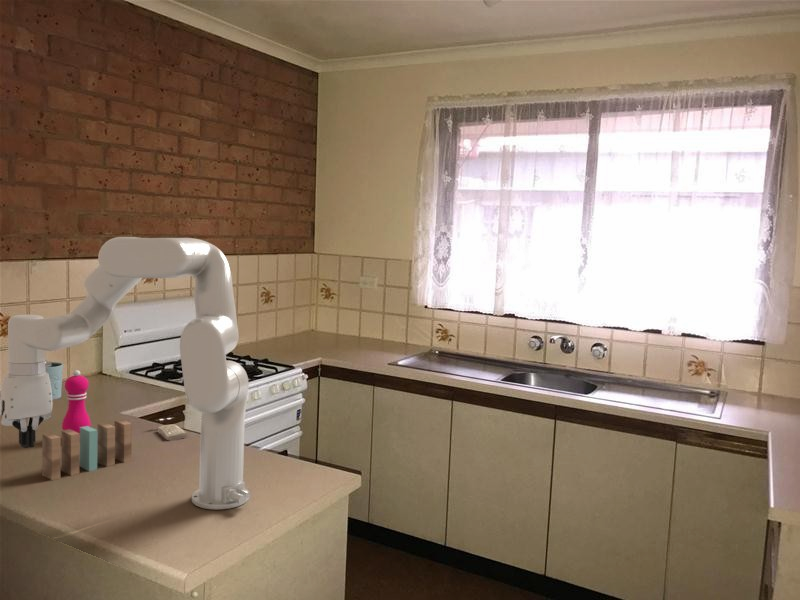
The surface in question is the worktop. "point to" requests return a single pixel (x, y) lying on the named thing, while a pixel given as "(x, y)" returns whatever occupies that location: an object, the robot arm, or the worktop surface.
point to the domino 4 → (106, 444)
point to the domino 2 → (70, 452)
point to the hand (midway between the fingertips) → (27, 446)
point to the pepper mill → (76, 403)
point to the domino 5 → (123, 440)
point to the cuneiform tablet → (171, 431)
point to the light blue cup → (55, 378)
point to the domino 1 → (51, 456)
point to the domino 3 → (88, 448)
